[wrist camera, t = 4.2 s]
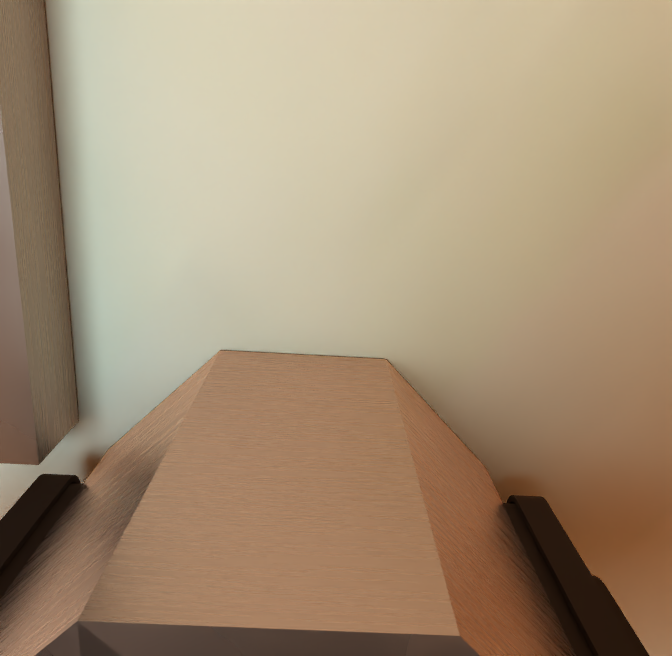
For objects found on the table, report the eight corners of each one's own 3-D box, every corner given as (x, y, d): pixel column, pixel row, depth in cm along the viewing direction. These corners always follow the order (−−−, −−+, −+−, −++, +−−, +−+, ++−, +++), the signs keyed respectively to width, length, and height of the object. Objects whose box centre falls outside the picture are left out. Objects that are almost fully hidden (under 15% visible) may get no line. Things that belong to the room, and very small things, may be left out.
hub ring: (501, 365, 10) (720, 645, 4) (453, 671, 12) (561, 1128, 7) (101, 343, 10) (-204, 610, 4) (122, 659, 12) (-63, 1119, 6)
